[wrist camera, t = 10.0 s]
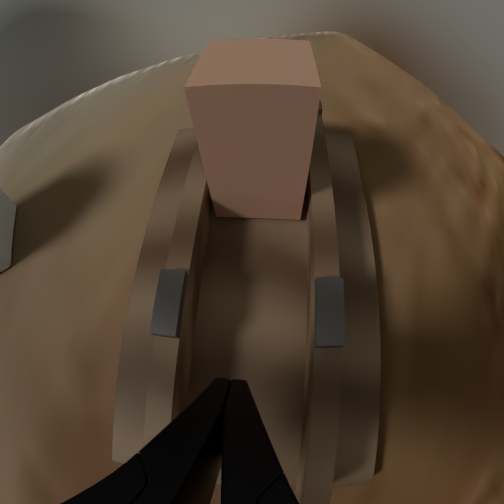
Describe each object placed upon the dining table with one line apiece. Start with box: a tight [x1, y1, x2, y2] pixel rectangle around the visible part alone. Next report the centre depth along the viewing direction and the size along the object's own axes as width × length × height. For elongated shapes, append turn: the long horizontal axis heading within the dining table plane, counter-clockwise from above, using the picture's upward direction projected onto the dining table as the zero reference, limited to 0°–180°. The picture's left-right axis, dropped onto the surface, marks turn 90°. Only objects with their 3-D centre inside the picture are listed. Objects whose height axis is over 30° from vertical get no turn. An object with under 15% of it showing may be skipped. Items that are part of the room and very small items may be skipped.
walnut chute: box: [112, 100, 381, 504], centre depth 15 cm, size 24×14×4 cm, turn 176°
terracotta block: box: [184, 39, 321, 220], centre depth 14 cm, size 5×5×9 cm
